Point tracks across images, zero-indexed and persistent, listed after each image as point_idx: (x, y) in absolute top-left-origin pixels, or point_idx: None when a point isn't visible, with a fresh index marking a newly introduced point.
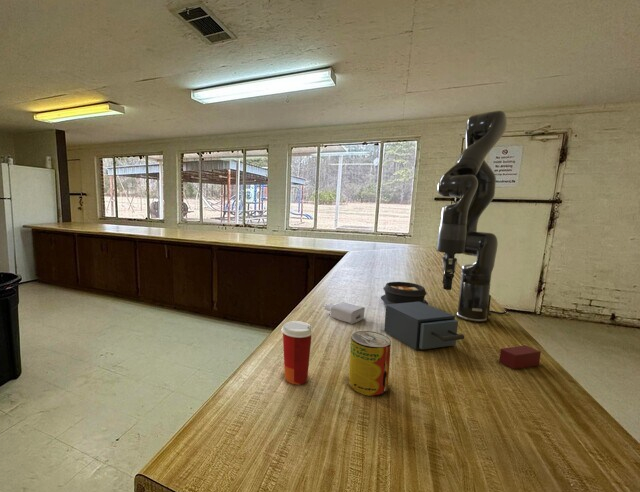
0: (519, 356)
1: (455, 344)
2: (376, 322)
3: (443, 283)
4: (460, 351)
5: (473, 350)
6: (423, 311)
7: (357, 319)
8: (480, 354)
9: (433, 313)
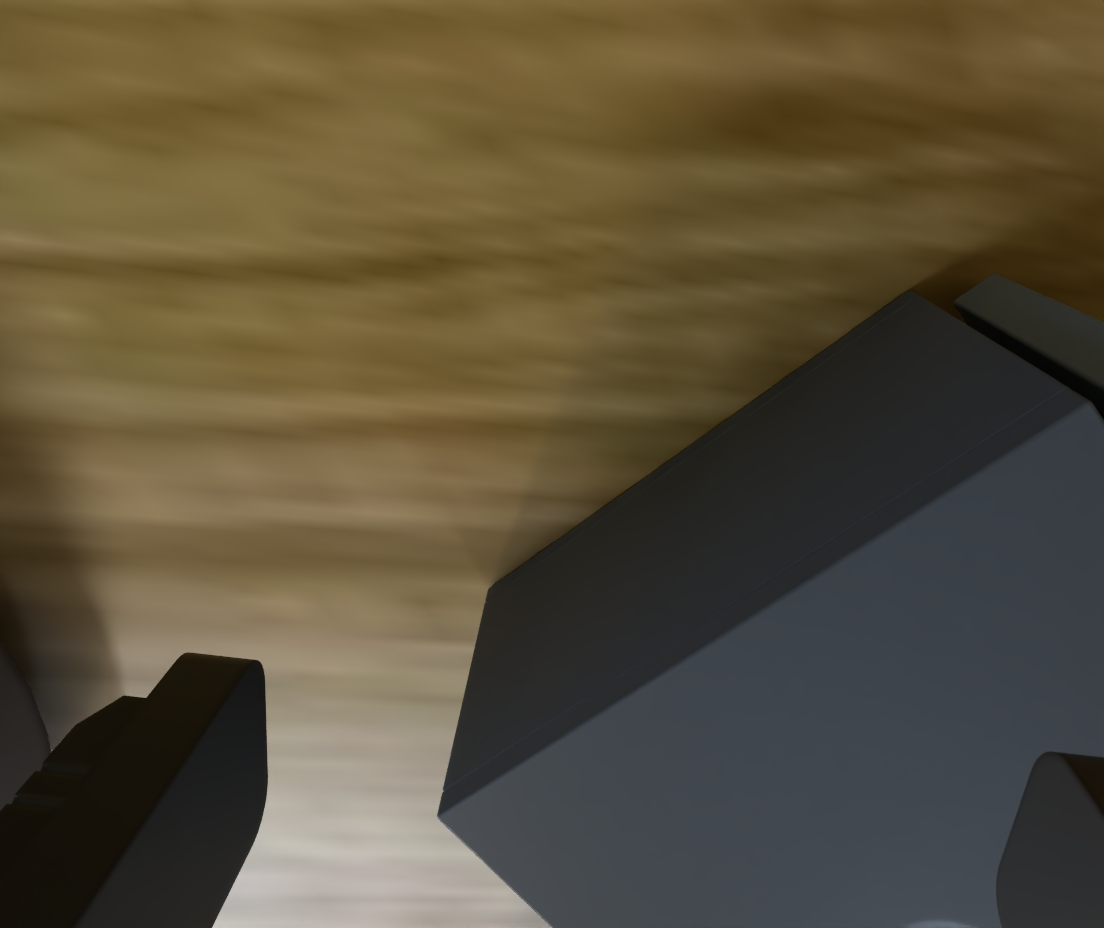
0: None
1: (1000, 277)
2: (526, 920)
3: (259, 801)
4: (1065, 226)
5: (992, 68)
6: (983, 812)
7: None
8: (1097, 6)
9: (1047, 698)
